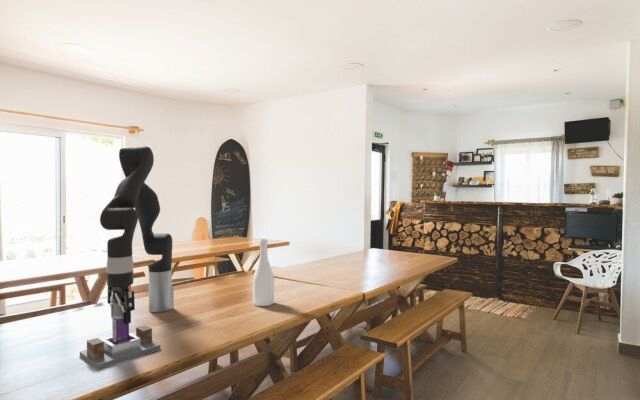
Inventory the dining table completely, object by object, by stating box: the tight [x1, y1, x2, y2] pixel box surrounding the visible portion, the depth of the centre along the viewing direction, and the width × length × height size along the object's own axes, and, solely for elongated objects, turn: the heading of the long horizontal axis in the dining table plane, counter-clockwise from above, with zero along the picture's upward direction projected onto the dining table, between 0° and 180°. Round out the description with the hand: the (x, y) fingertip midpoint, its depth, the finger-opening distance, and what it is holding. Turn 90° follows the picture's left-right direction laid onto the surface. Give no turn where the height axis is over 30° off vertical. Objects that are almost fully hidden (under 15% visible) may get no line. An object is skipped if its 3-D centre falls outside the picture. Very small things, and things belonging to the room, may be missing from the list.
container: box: [111, 301, 130, 345], centre depth 124 cm, size 5×5×15 cm
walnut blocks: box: [86, 324, 153, 360], centre depth 124 cm, size 18×5×4 cm, turn 140°
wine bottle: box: [252, 238, 275, 307], centre depth 178 cm, size 10×10×30 cm
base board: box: [79, 340, 161, 371], centre depth 124 cm, size 19×14×2 cm
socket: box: [100, 332, 141, 356], centre depth 124 cm, size 9×9×3 cm
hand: (120, 320), depth 124 cm, fingers open, 8 cm apart
